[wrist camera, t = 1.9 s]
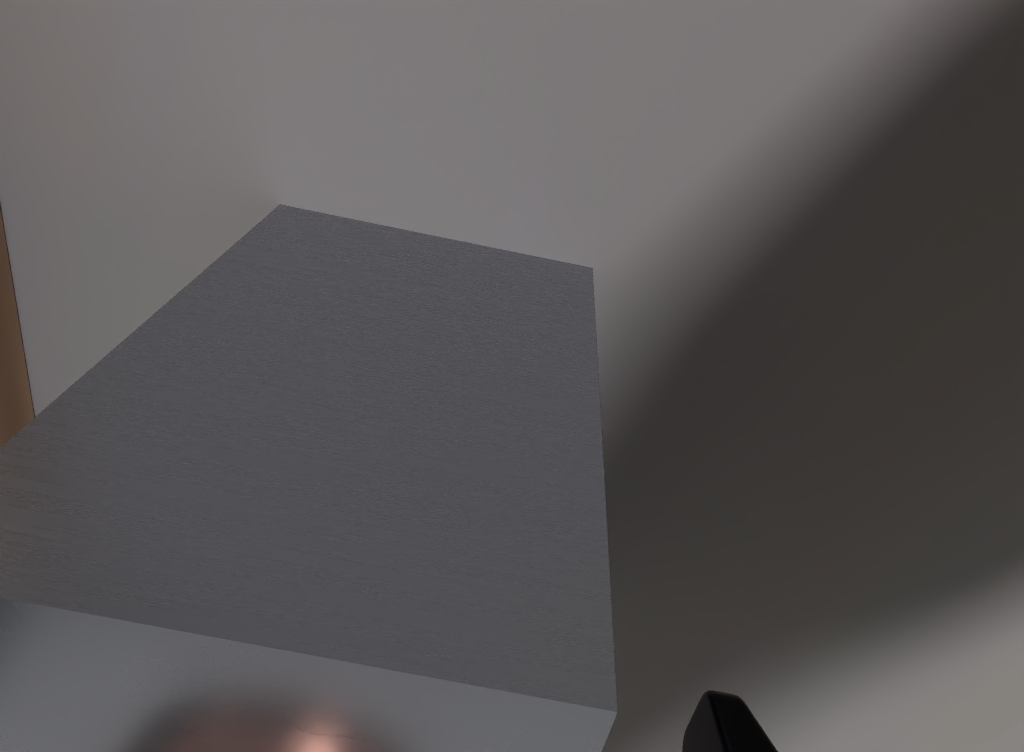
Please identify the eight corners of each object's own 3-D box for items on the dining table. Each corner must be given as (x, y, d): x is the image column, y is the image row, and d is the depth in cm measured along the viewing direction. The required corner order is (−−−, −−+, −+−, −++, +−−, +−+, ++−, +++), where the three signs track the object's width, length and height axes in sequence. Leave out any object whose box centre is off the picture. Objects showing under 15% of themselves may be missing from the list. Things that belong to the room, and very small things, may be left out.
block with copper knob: (592, 267, 12) (627, 873, 4) (511, 581, 15) (447, 1231, 8) (280, 204, 12) (-301, 708, 4) (270, 535, 15) (-48, 1150, 7)
